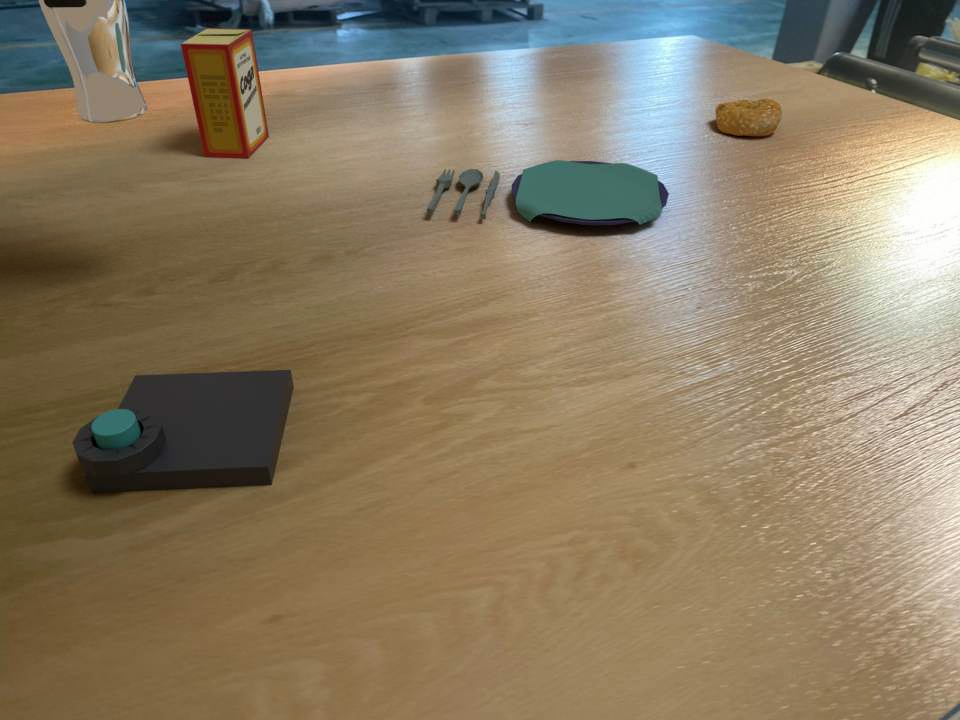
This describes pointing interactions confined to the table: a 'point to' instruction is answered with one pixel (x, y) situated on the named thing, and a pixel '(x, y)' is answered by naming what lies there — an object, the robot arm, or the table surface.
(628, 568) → the table surface
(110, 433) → the button
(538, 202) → the cutlery set
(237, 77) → the baking soda box
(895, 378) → the table surface
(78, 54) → the beer glass
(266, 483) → the black flat square block
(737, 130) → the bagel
